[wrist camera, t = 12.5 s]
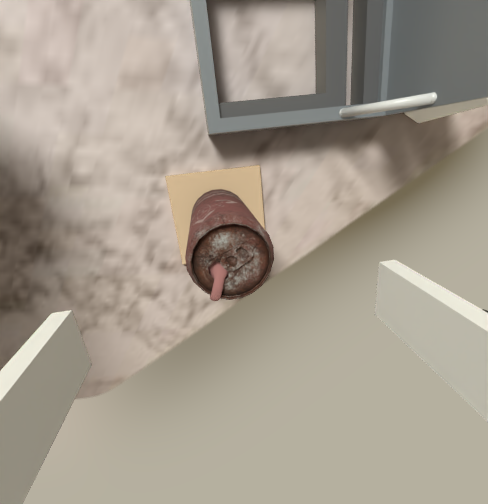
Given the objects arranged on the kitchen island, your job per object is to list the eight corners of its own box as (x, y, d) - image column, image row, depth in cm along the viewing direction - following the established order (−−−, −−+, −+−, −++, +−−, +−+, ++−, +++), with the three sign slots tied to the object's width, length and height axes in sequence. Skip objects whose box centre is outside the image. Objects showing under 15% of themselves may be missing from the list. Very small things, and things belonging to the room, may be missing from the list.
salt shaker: (434, 54, 29) (559, 4, 19) (454, 99, 31) (579, 75, 21) (391, 92, 30) (490, 63, 20) (414, 134, 32) (515, 127, 22)
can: (186, 238, 32) (176, 300, 19) (197, 182, 30) (195, 208, 17) (238, 248, 33) (262, 314, 20) (252, 195, 31) (288, 229, 18)
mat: (182, 263, 33) (182, 264, 33) (165, 176, 30) (165, 176, 29) (265, 250, 34) (266, 252, 34) (259, 165, 31) (259, 165, 30)
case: (208, 135, 29) (214, 123, 15) (181, -59, 23) (152, -362, 10) (375, 117, 31) (521, 91, 17) (386, -67, 25) (615, -333, 11)
